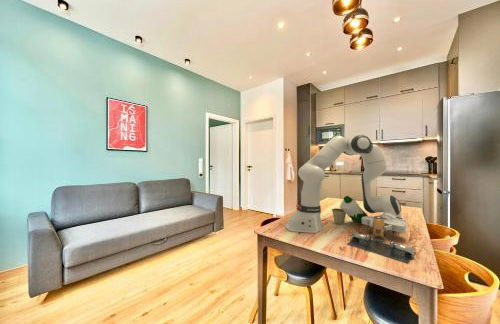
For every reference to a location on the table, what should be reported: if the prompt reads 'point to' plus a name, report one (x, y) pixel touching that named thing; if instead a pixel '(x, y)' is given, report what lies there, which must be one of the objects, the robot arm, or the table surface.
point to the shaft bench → (382, 248)
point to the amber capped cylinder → (378, 229)
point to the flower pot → (338, 216)
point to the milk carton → (352, 209)
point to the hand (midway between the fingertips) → (378, 226)
